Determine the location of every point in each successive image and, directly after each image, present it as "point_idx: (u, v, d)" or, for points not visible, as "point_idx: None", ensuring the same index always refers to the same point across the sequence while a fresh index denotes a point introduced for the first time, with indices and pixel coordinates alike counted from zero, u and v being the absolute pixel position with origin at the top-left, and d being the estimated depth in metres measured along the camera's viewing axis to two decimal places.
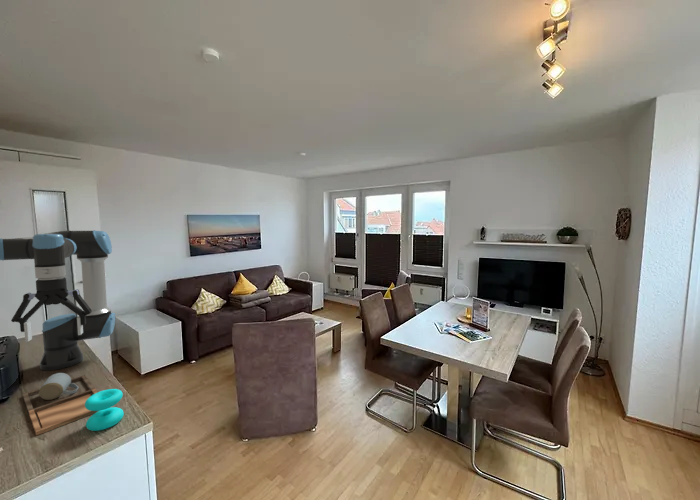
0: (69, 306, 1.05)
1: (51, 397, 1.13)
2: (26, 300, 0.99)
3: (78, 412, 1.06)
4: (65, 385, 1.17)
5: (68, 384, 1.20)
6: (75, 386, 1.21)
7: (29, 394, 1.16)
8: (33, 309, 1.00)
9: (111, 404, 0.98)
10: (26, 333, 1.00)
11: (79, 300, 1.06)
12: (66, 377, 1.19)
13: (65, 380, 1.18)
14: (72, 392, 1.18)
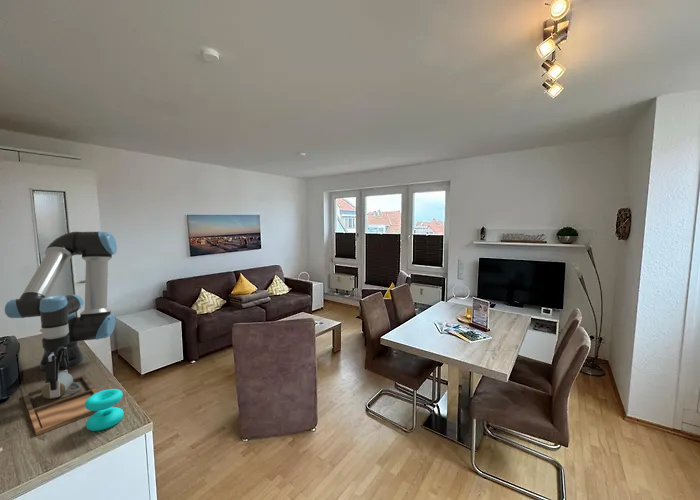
0: None
1: None
2: None
3: (78, 412, 1.06)
4: (67, 384, 1.18)
5: (70, 383, 1.20)
6: (77, 385, 1.21)
7: (29, 394, 1.16)
8: None
9: (111, 404, 0.98)
10: None
11: None
12: (68, 376, 1.20)
13: (67, 379, 1.19)
14: (74, 391, 1.18)
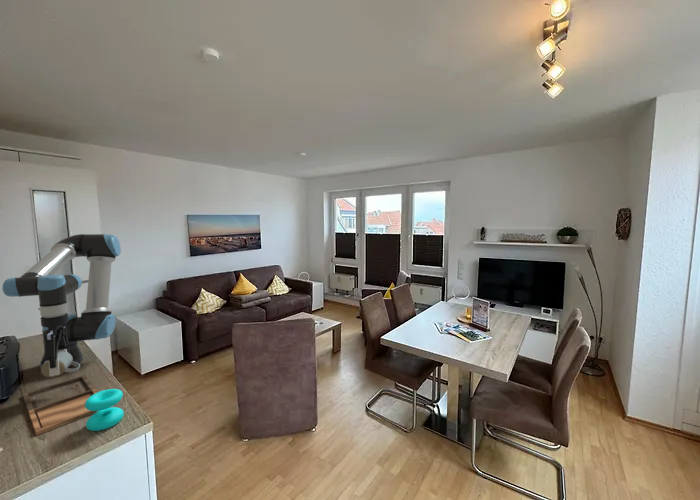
0: None
1: None
2: None
3: (78, 412, 1.06)
4: (67, 363, 1.17)
5: (70, 362, 1.20)
6: (77, 364, 1.21)
7: (29, 394, 1.16)
8: None
9: (111, 404, 0.98)
10: None
11: None
12: (68, 355, 1.20)
13: (67, 358, 1.18)
14: (74, 370, 1.18)
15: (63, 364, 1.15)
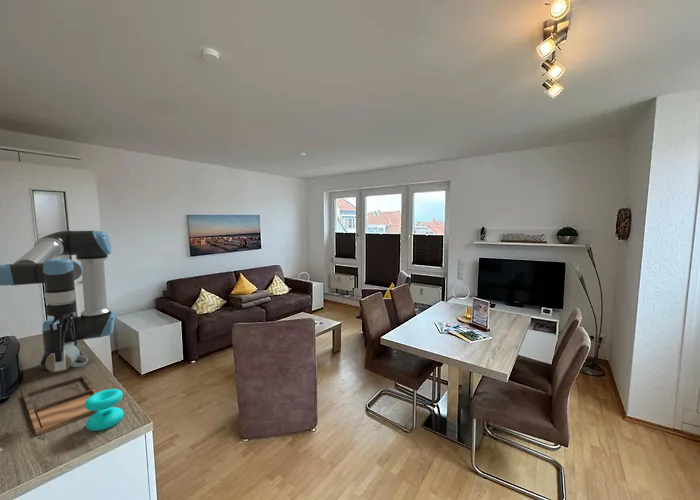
0: None
1: None
2: None
3: (78, 412, 1.06)
4: (74, 357, 1.06)
5: (77, 356, 1.09)
6: (84, 359, 1.10)
7: (29, 394, 1.16)
8: None
9: (111, 404, 0.98)
10: None
11: None
12: (74, 349, 1.08)
13: (73, 351, 1.07)
14: (81, 365, 1.07)
15: (70, 357, 1.04)
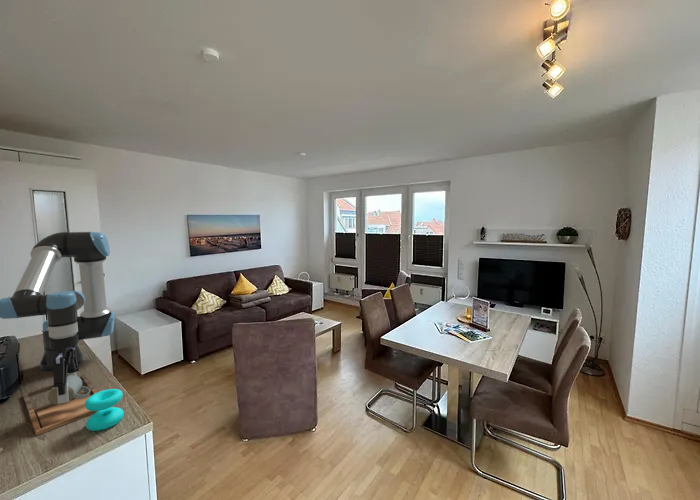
0: None
1: None
2: None
3: (78, 412, 1.06)
4: (76, 388, 1.07)
5: (79, 387, 1.10)
6: (87, 389, 1.11)
7: (29, 394, 1.16)
8: None
9: (111, 404, 0.98)
10: None
11: (54, 369, 1.00)
12: (77, 380, 1.09)
13: (76, 383, 1.08)
14: (84, 396, 1.08)
15: (72, 390, 1.05)
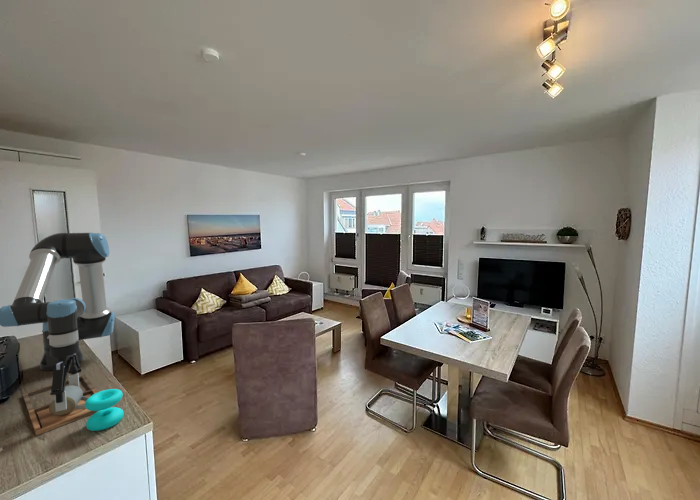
0: None
1: (62, 413, 1.04)
2: None
3: (78, 412, 1.06)
4: (77, 399, 1.07)
5: (80, 398, 1.10)
6: None
7: (29, 394, 1.16)
8: None
9: (111, 404, 0.98)
10: None
11: None
12: (78, 390, 1.10)
13: (77, 393, 1.08)
14: None
15: (73, 400, 1.05)
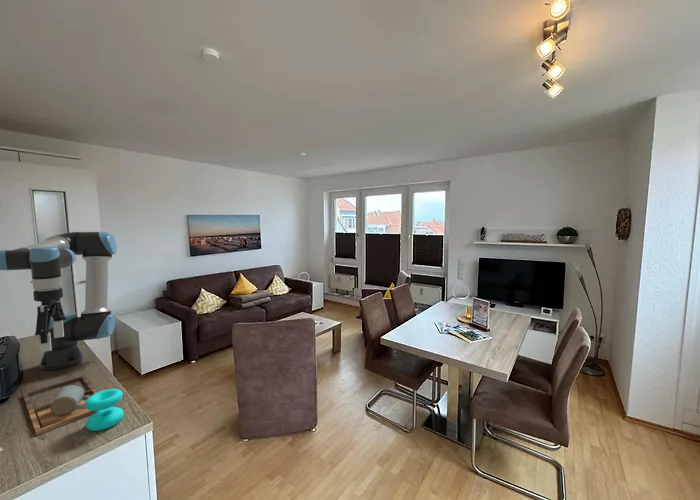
0: None
1: (64, 412, 1.04)
2: None
3: (78, 412, 1.06)
4: (78, 399, 1.08)
5: (81, 397, 1.10)
6: None
7: (29, 394, 1.16)
8: None
9: (111, 404, 0.98)
10: None
11: None
12: (79, 390, 1.10)
13: (78, 393, 1.09)
14: None
15: (75, 400, 1.05)
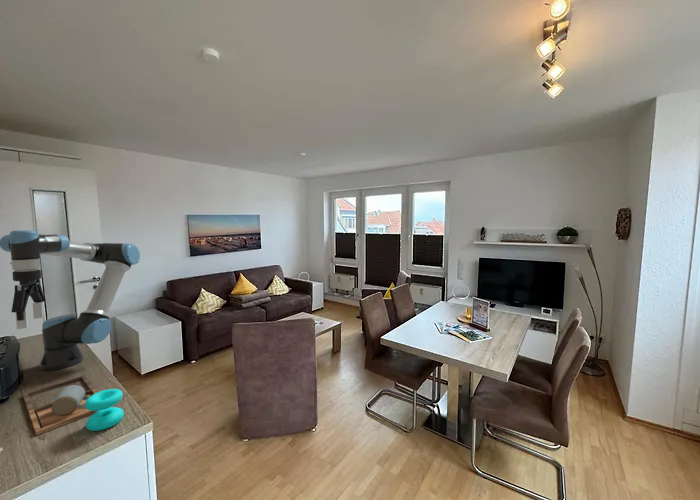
0: None
1: (65, 412, 1.04)
2: None
3: (78, 412, 1.06)
4: (79, 398, 1.08)
5: (82, 397, 1.10)
6: None
7: (29, 394, 1.16)
8: None
9: (111, 404, 0.98)
10: None
11: None
12: (80, 390, 1.10)
13: (79, 393, 1.09)
14: None
15: (76, 400, 1.06)
